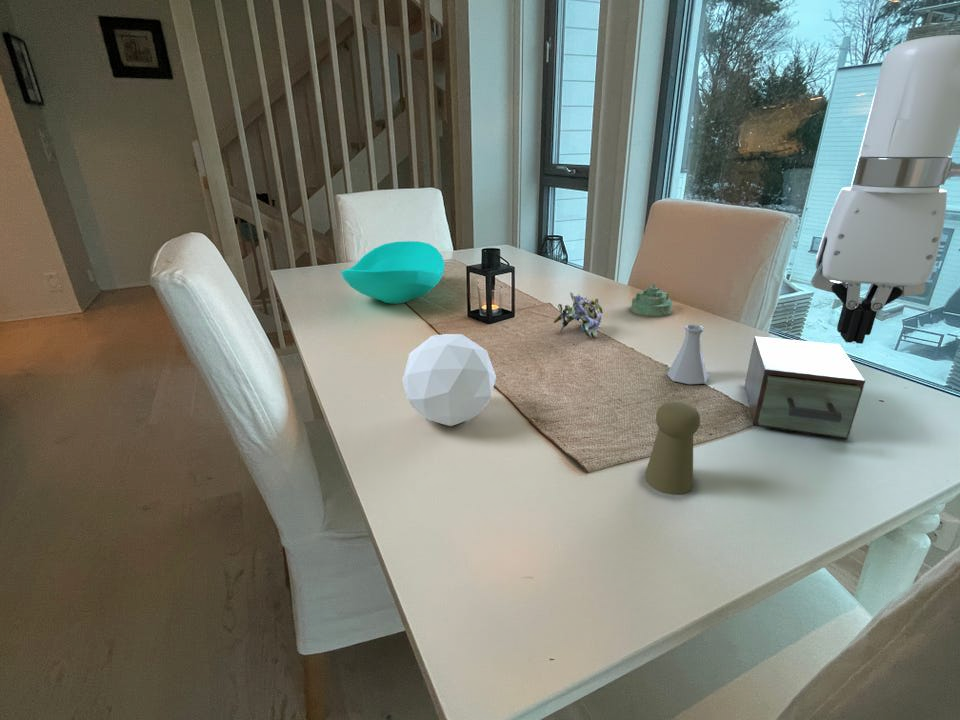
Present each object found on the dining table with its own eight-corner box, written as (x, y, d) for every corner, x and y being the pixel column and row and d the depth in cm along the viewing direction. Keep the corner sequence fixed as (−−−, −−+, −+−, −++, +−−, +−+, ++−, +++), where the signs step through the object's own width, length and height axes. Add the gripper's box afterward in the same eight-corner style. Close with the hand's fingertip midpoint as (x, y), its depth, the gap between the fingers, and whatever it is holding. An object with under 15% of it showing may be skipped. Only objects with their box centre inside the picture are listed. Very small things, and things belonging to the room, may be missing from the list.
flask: (668, 384, 93) (675, 332, 90) (664, 368, 100) (671, 319, 96) (710, 387, 92) (719, 335, 88) (704, 370, 98) (712, 321, 94)
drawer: (855, 454, 70) (870, 404, 67) (762, 439, 74) (773, 391, 71) (825, 396, 86) (837, 354, 83) (750, 387, 90) (758, 346, 86)
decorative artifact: (630, 314, 130) (671, 317, 127) (633, 288, 127) (675, 290, 124) (632, 303, 139) (671, 306, 136) (634, 278, 136) (674, 280, 133)
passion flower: (591, 358, 119) (598, 329, 108) (546, 345, 121) (549, 316, 111) (602, 320, 124) (611, 289, 113) (559, 309, 126) (563, 277, 116)
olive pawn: (696, 474, 68) (709, 401, 64) (688, 500, 64) (701, 423, 59) (650, 461, 71) (660, 391, 67) (639, 485, 67) (648, 411, 62)
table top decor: (432, 323, 128) (429, 270, 122) (325, 322, 130) (318, 271, 125) (454, 282, 164) (452, 240, 159) (370, 282, 167) (365, 241, 161)
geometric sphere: (442, 433, 89) (439, 350, 93) (515, 424, 81) (510, 334, 85) (383, 428, 78) (383, 333, 81) (461, 416, 70) (458, 312, 73)
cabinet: (847, 439, 75) (865, 380, 72) (752, 425, 80) (764, 369, 76) (825, 396, 88) (839, 344, 84) (744, 386, 92) (754, 336, 88)
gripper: (970, 173, 54) (915, 335, 61) (808, 173, 59) (775, 323, 66) (1007, 178, 48) (941, 358, 55) (822, 178, 53) (784, 343, 60)
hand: (851, 338), depth 61 cm, fingers closed
